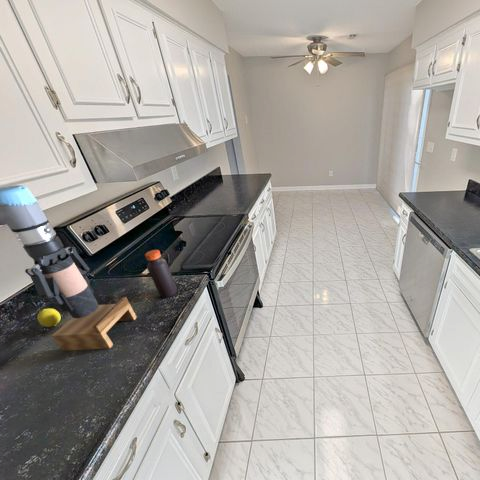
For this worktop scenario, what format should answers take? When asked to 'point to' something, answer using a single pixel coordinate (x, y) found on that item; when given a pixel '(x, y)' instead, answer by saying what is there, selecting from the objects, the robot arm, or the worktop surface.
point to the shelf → (93, 327)
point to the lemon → (49, 317)
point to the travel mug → (72, 287)
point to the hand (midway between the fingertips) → (79, 301)
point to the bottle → (160, 274)
